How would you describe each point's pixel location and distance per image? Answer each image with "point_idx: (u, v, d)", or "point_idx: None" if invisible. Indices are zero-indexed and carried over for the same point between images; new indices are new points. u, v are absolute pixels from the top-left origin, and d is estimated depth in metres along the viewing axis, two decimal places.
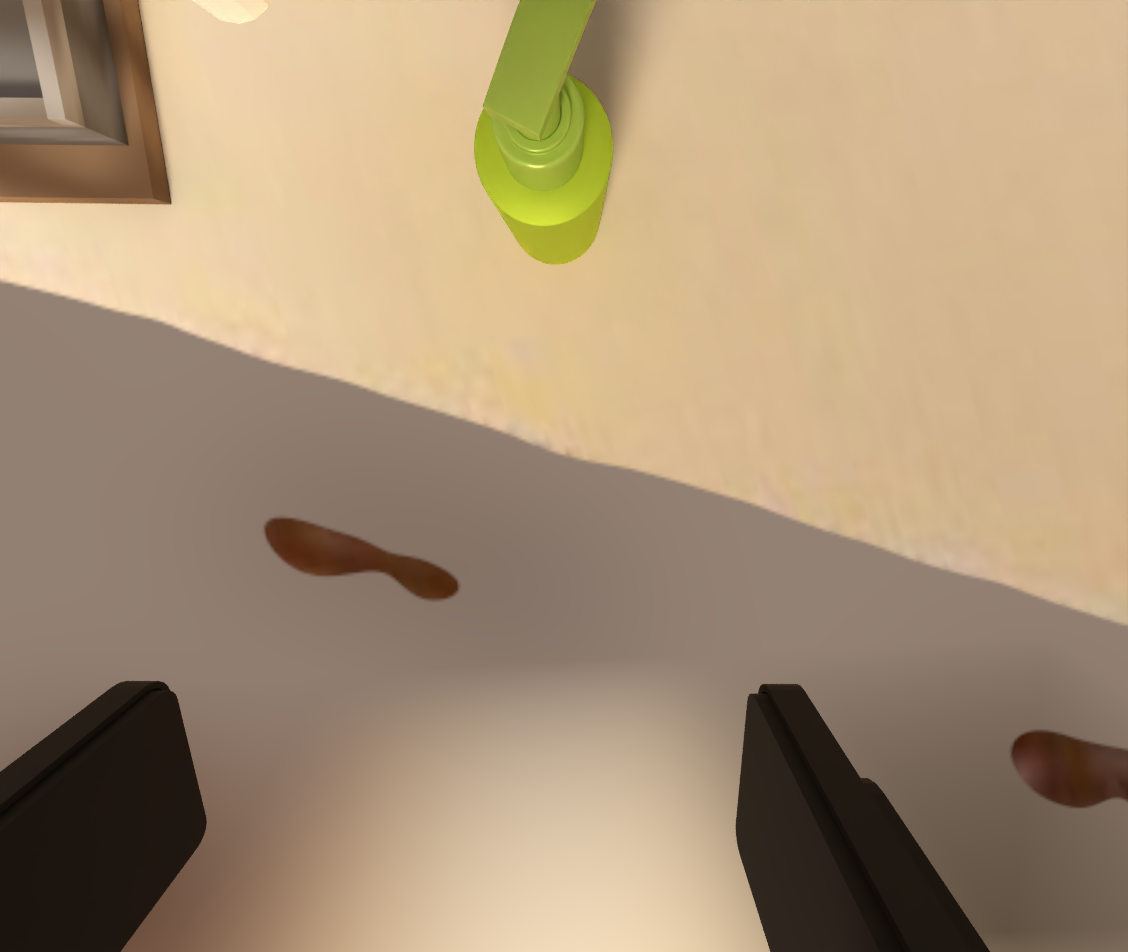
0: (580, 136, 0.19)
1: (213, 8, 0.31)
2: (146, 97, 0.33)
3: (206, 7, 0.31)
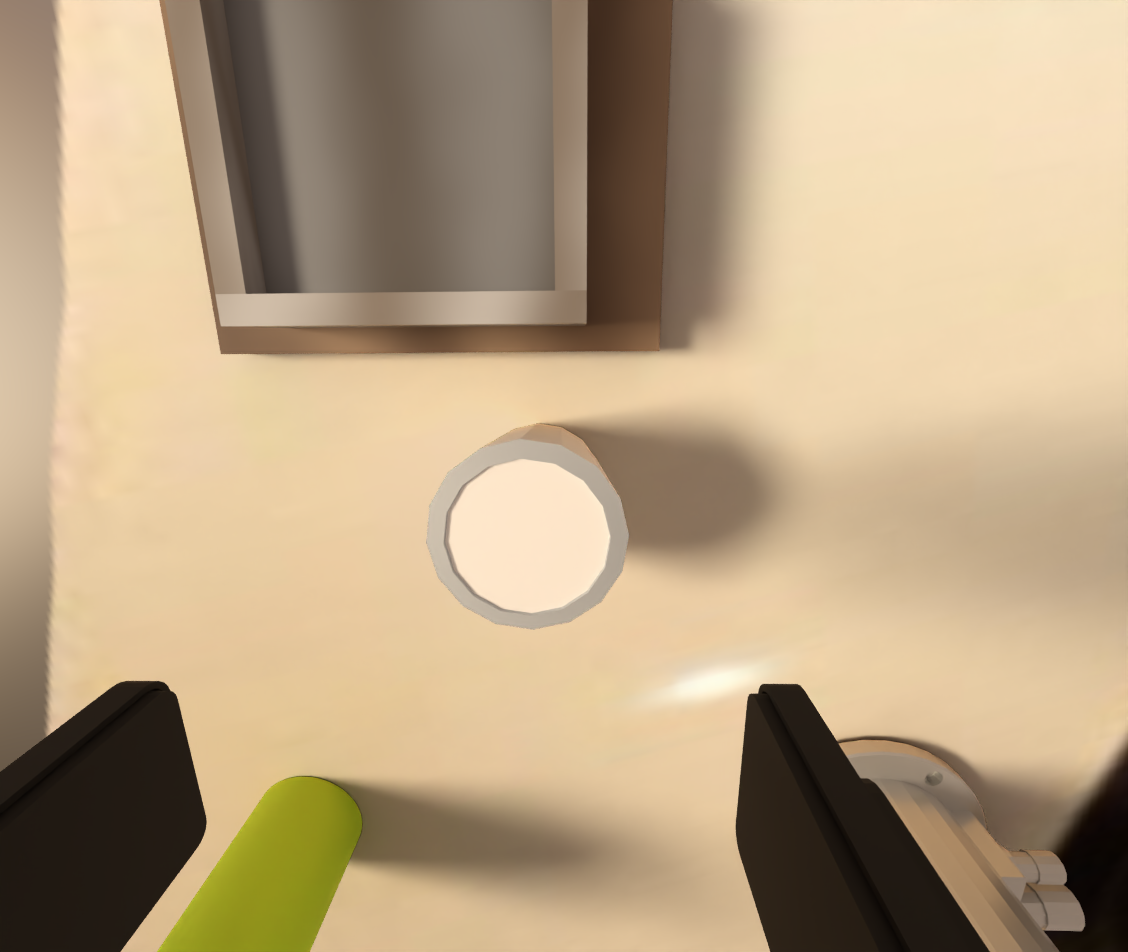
0: None
1: None
2: None
3: None
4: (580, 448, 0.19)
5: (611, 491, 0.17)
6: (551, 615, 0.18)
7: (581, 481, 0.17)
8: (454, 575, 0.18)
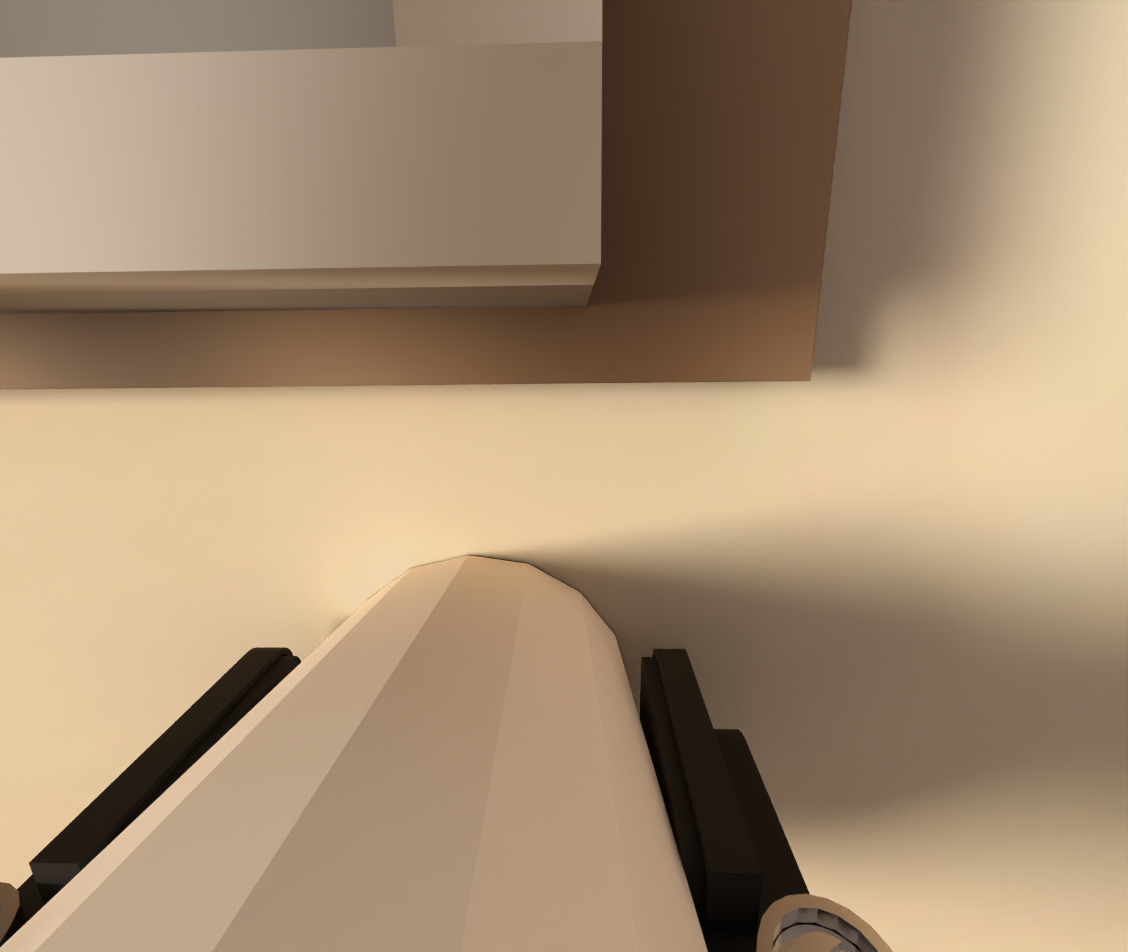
0: None
1: None
2: None
3: None
4: (573, 752, 0.05)
5: None
6: None
7: None
8: None
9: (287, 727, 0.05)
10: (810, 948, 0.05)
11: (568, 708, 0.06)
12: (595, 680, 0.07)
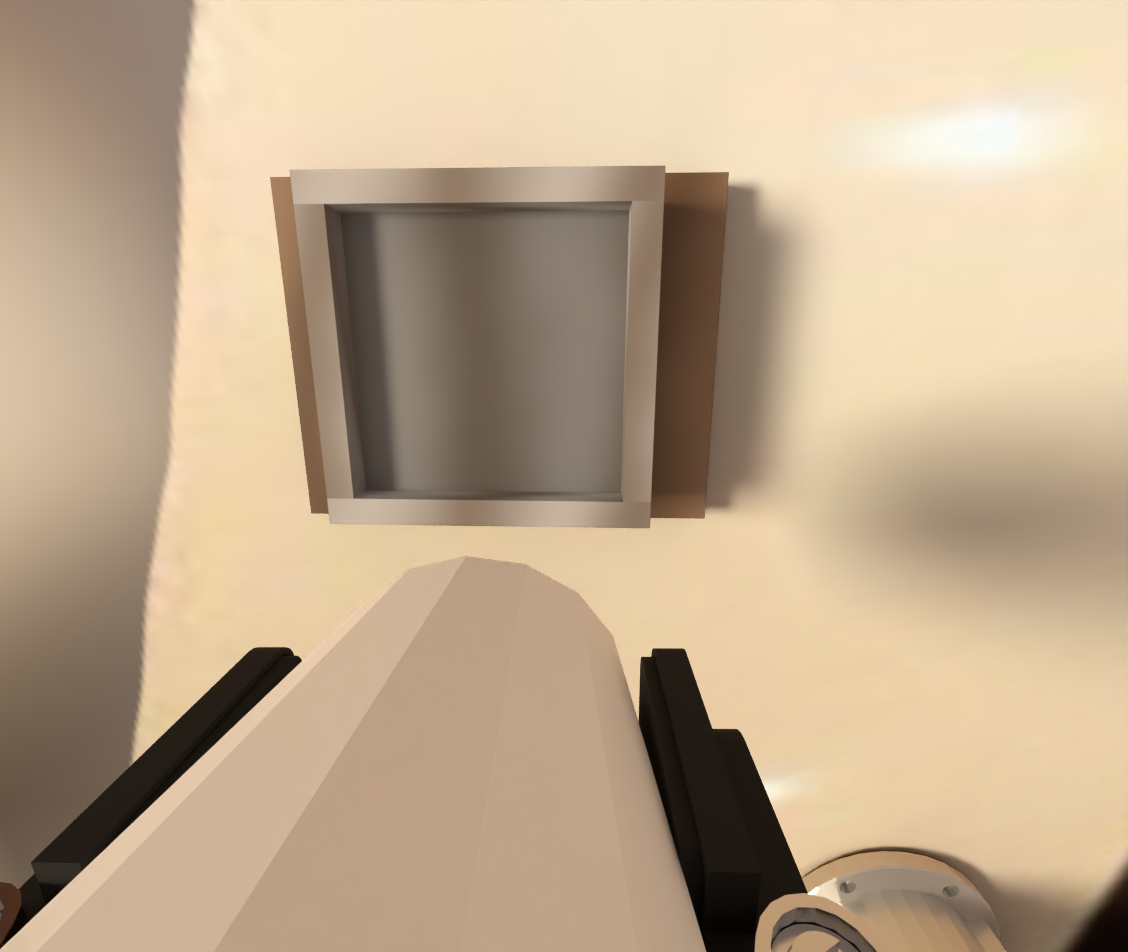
0: None
1: None
2: None
3: None
4: (571, 753, 0.05)
5: None
6: None
7: None
8: None
9: (285, 729, 0.05)
10: (808, 948, 0.05)
11: (566, 709, 0.06)
12: (593, 681, 0.07)
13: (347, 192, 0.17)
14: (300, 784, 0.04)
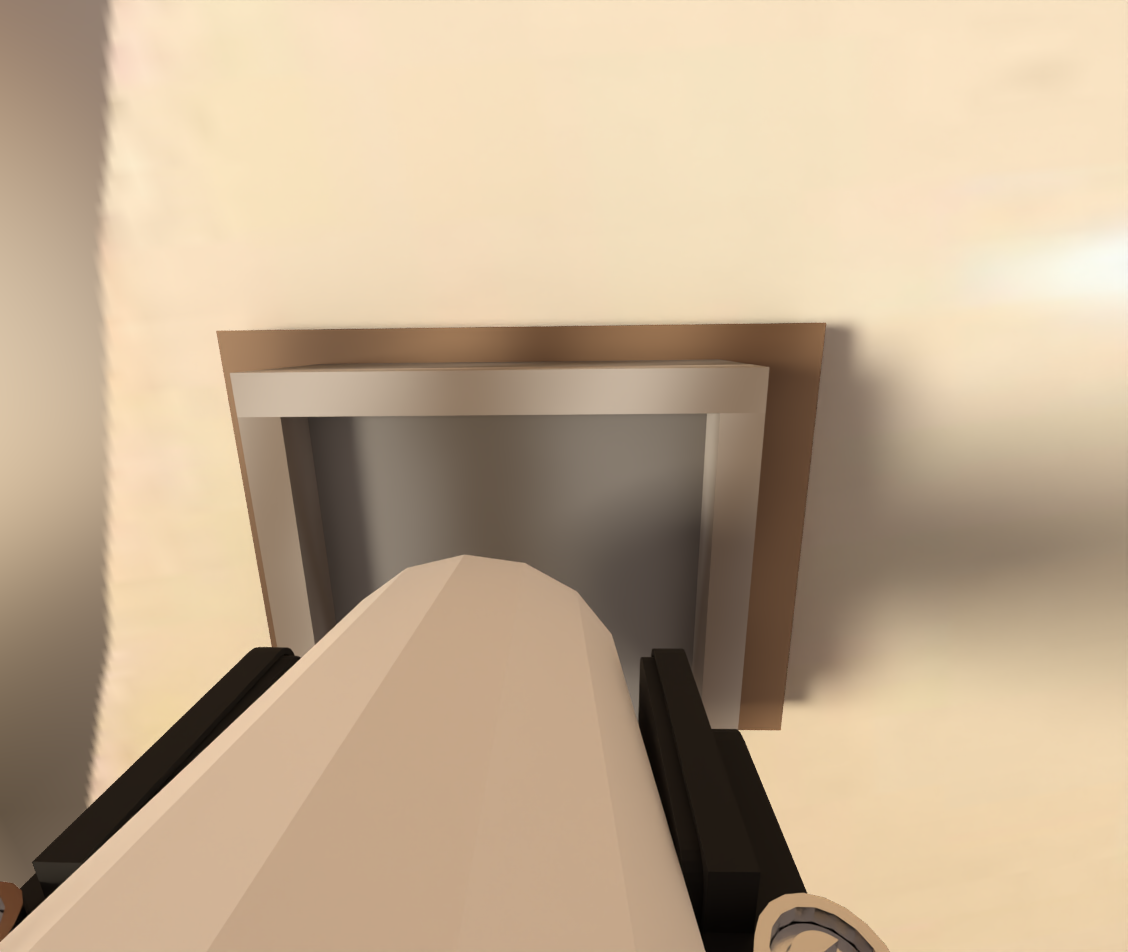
0: None
1: None
2: None
3: None
4: (569, 751, 0.05)
5: None
6: None
7: None
8: None
9: (281, 728, 0.05)
10: (807, 947, 0.05)
11: (564, 707, 0.06)
12: (592, 679, 0.07)
13: (313, 402, 0.12)
14: (296, 782, 0.04)
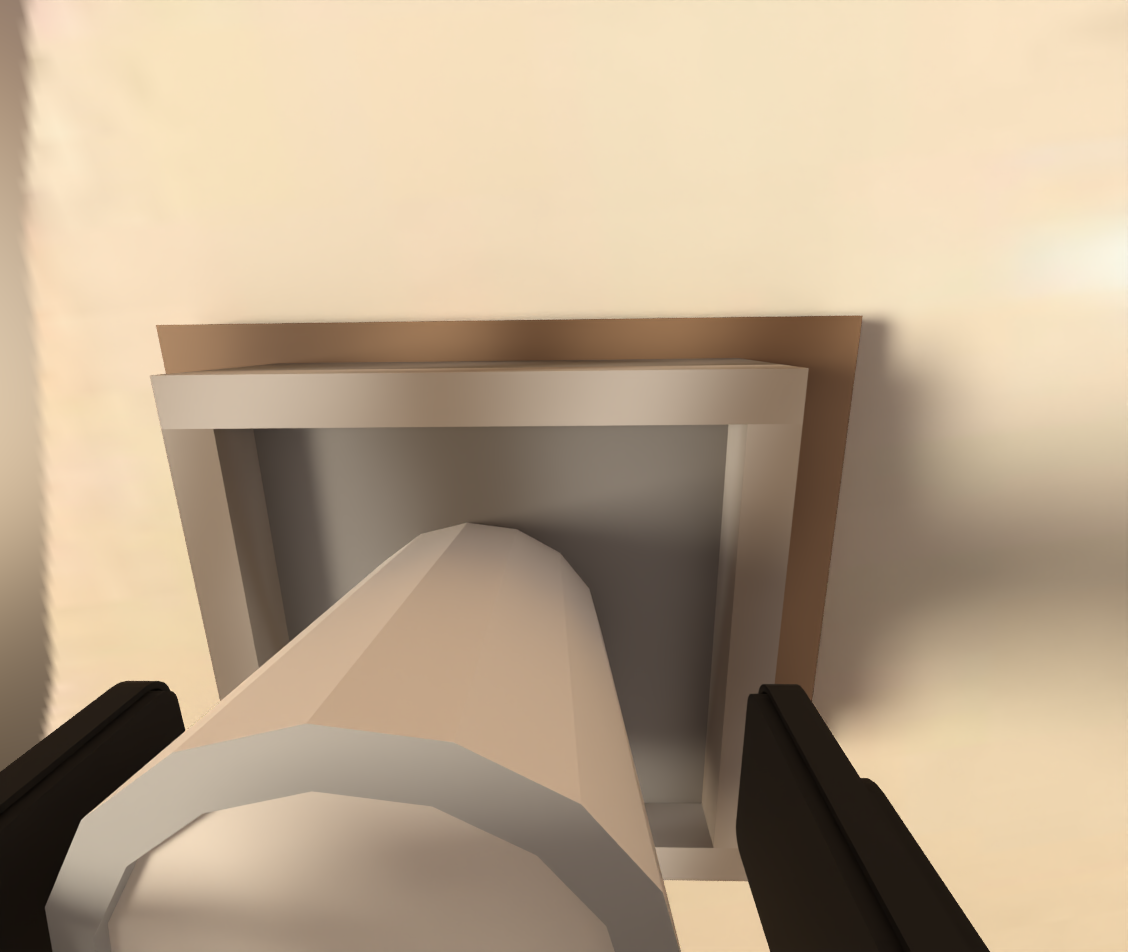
0: None
1: None
2: None
3: None
4: (542, 644, 0.07)
5: (632, 875, 0.05)
6: None
7: (529, 849, 0.05)
8: None
9: (338, 625, 0.07)
10: None
11: (541, 620, 0.08)
12: (565, 609, 0.09)
13: (252, 411, 0.10)
14: (355, 646, 0.06)
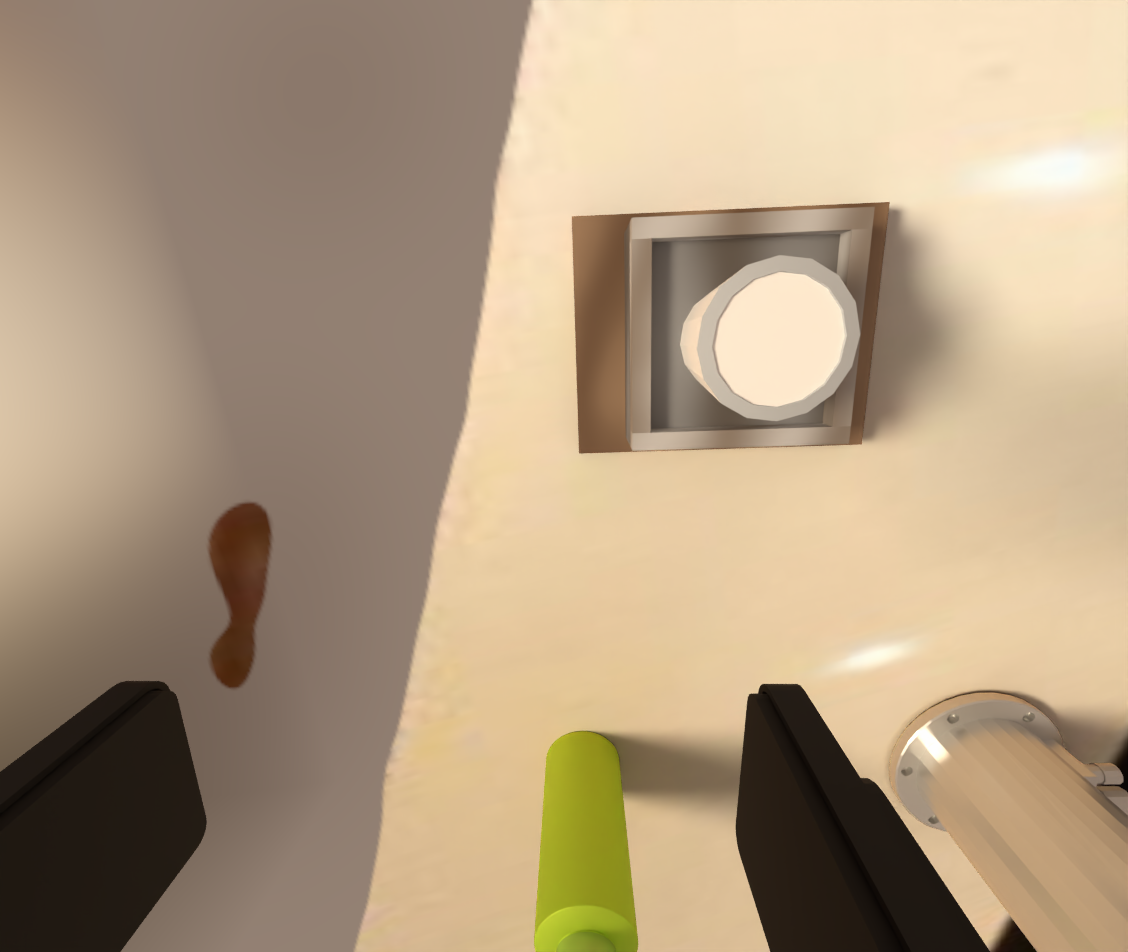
0: None
1: (684, 336, 0.27)
2: None
3: (686, 327, 0.27)
4: None
5: (849, 296, 0.22)
6: (793, 407, 0.23)
7: (826, 288, 0.22)
8: (717, 375, 0.23)
9: None
10: None
11: None
12: None
13: (668, 230, 0.26)
14: None
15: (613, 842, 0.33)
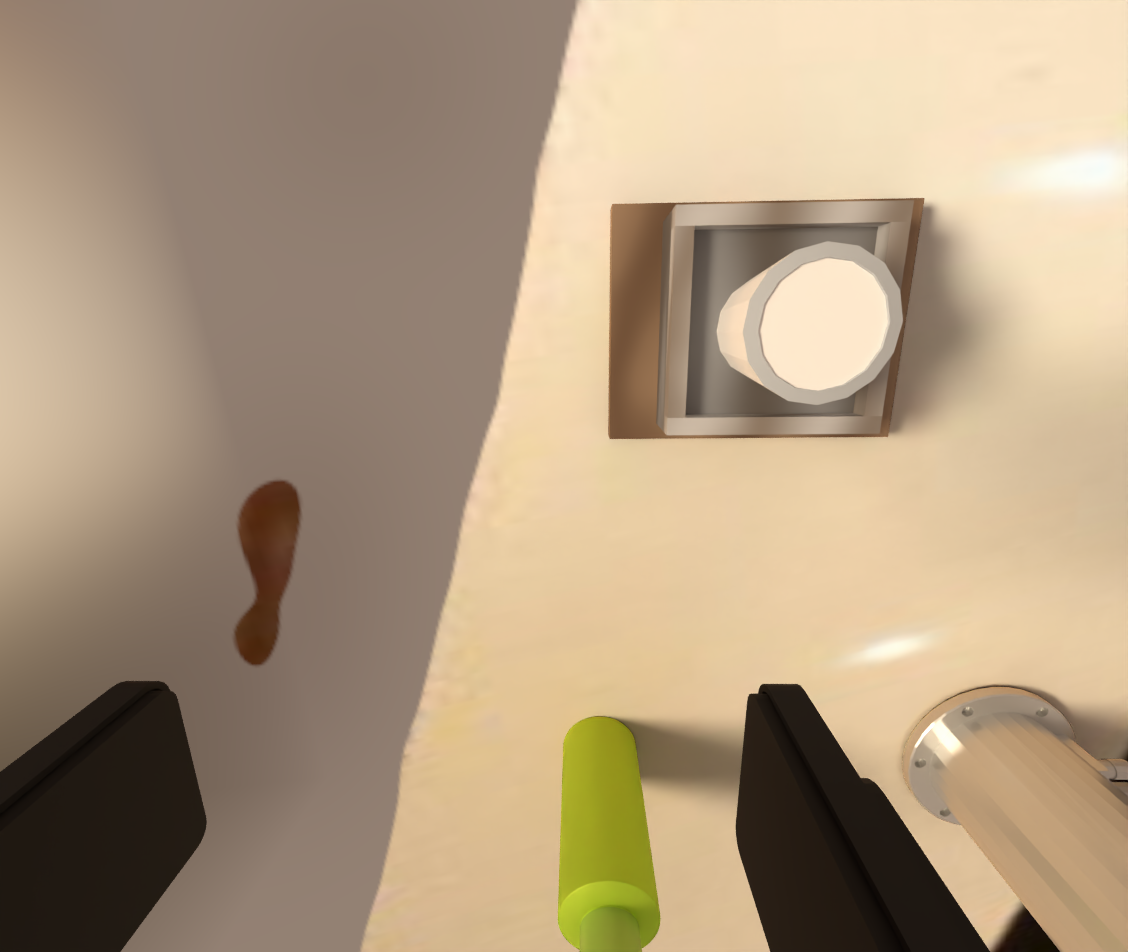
0: None
1: (723, 322, 0.28)
2: None
3: (725, 314, 0.28)
4: None
5: (893, 283, 0.22)
6: (834, 391, 0.23)
7: (871, 275, 0.22)
8: (762, 358, 0.23)
9: None
10: None
11: None
12: None
13: (710, 218, 0.27)
14: None
15: (635, 823, 0.33)
